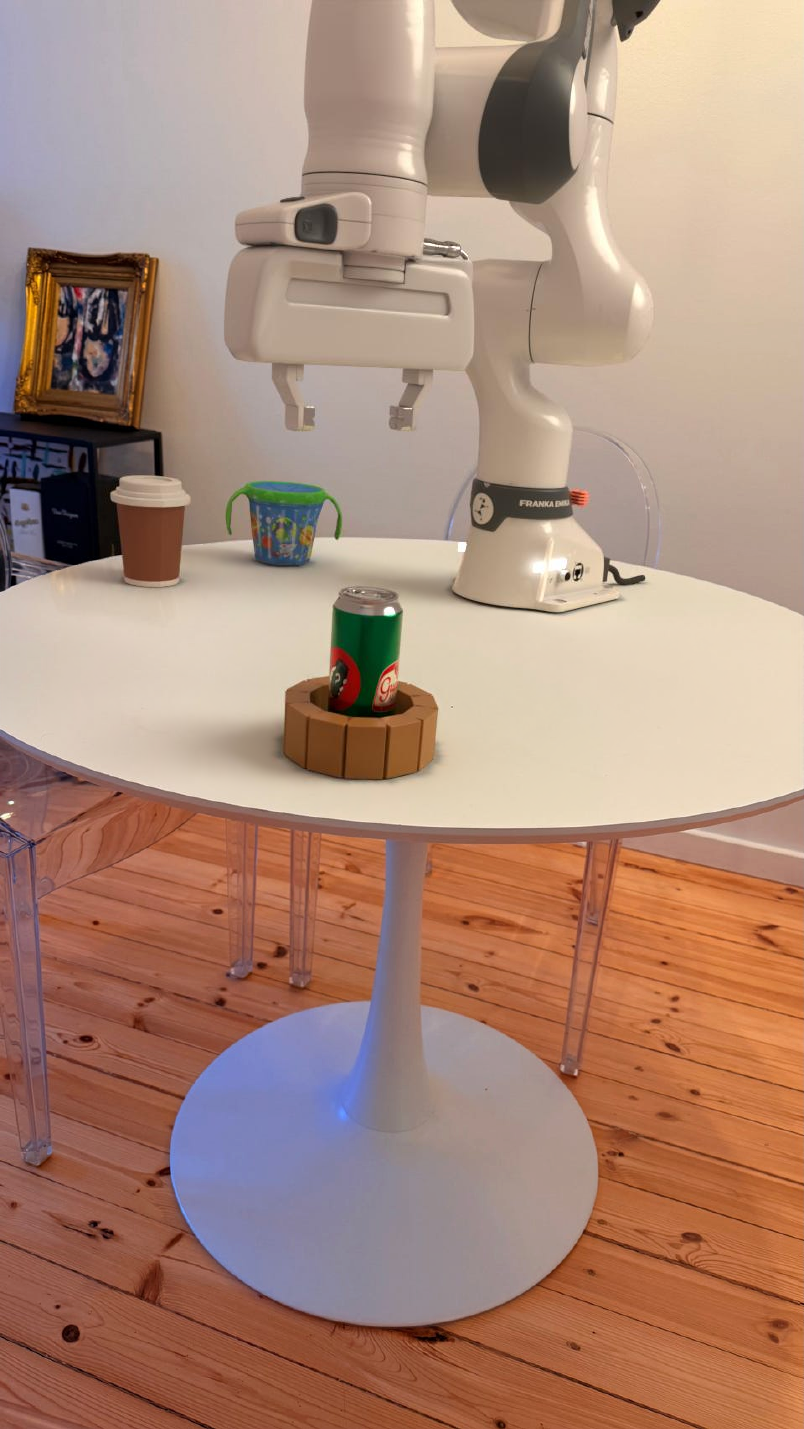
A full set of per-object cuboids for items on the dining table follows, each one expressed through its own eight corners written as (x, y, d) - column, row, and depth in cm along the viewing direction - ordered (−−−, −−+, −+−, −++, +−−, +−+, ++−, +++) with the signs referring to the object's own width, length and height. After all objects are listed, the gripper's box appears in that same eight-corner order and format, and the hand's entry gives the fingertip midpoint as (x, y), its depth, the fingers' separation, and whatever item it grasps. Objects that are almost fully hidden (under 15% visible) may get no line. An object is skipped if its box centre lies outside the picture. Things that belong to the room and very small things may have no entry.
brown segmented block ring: (376, 713, 82) (379, 668, 81) (462, 762, 74) (467, 711, 72) (256, 735, 76) (257, 686, 74) (335, 791, 67) (338, 736, 66)
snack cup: (338, 556, 141) (342, 484, 138) (341, 573, 131) (346, 495, 128) (227, 550, 139) (228, 477, 136) (222, 566, 129) (223, 487, 126)
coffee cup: (97, 583, 116) (94, 479, 112) (135, 569, 124) (133, 471, 120) (169, 593, 114) (169, 488, 110) (202, 578, 123) (203, 479, 119)
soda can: (384, 765, 72) (396, 605, 68) (317, 755, 73) (325, 596, 69) (398, 741, 77) (410, 589, 73) (335, 732, 78) (343, 581, 73)
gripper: (447, 245, 78) (433, 425, 84) (213, 213, 67) (213, 425, 72) (501, 243, 74) (482, 434, 79) (259, 209, 62) (255, 436, 67)
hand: (352, 430), depth 75 cm, fingers open, 8 cm apart
